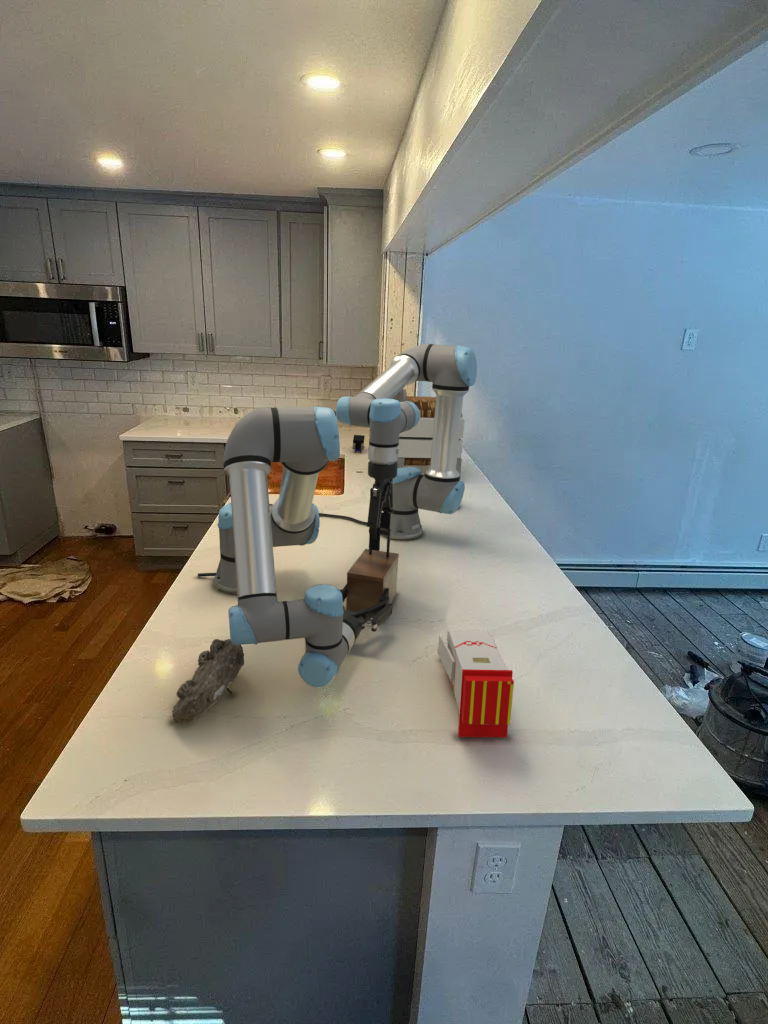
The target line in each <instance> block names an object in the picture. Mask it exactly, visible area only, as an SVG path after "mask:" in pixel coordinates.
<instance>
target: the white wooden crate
mask: <svg viewBox="0 0 768 1024" xmlns="http://www.w3.org/2000/svg"><path fill="white" fill-rule="evenodd" d="M407 394H408V393H407V390H406V389H404V388H403V389H402V390H401V391H400V392H399V393H398V394H397V395H396V396H394V397H393V398H392V399H395V400H398V401H399V402H402V401H409V402H412V403H414V404H415V405H416V406H417V407H418V409H419V412H420V419H419V422H418V423H417V425H416V426H414V427H413V428H412V429H411V430H407V431H404V432H402V433H400V434H399V445H398V450H400V451H401V452H400V454H398V460H397V461H396V462H397V464H398V468H404V467H405V466H406V467H417V466H418V467H430V463H431V451H432V439H433V428H434V416H435V404H436V396H415V395H414V396H413V395H412V396H411V395H407ZM464 429H465V419H464V418H463V413H462V414H461V424H460V434H459V444H458V454H457V464H456V470H457V471H458V472H459V474H460V475H461V472H462V461H463V460H462V453H463V442H464V441H463V440H462V439H463V438H464V431H465V430H464Z"/></svg>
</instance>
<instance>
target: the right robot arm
mask: <svg viewBox="0 0 768 1024" xmlns="http://www.w3.org/2000/svg"><path fill="white" fill-rule="evenodd" d="M477 375H478V361H477V357H476V353H475V351H474V350H473V349H472V348H471V347H469V346H463V345H451V344H450V345H449V344H436V343H435V344H434V343H421V344H418V345H415V346H412V347H410V348H407V349H406V350H404V351H402V352H400V353H399V354H397V356H395V357H394V358H393V359H392V360H391V363H390V366H389V367H387V368H386V369H385V370H384V371H383V372H382V373H381V374H379V375H378V376H377V377H376V378H374V379H373V380H372V381H371V382H370V383H369V384H368V385H366V386H365V387H364V388H363V389H362V390H361V391H360V392H358V393H357V394H356V395H355V396H351V395H349V396H341V397H340V398H339V399H338V400H337V402H336V406H335V415H336V419H337V422H338V423H340V424H344V425H349V426H351V427H352V426H354V427H363V428H369V433H368V434H369V435H368V436H369V438H368V439H369V440H368V454H367V455H368V456H367V459H368V460H369V461H368V463H367V476H369V477H370V478H371V479H373V480H374V483H373V484H372V487H370V489H369V504H368V513H367V514H368V515H367V521H362V520H359V519H357V518H354V517H352V516H347V515H339V514H331V513H323V512H319V517H320V516H322V517H330V518H337V519H343V520H345V519H346V520H350V521H353V522H356V523H358V524H361V525H365V526H366V527H367V528H370V530H369V529H368V534H369V535H368V549H369V550H376V551H381V536H382V537H385V538H387V536H385V535H380V530H381V528H386V529H391V530H392V533H391V536H390V540H395V541H410V540H415V539H418V538H420V537H421V536H422V535H423V525H422V524H421V518H420V515H419V510H423V511H429V512H435V513H439V514H446V515H452V514H454V513H456V512H457V510H458V509H459V508H460V506H461V503H462V502H463V501H462V500H463V497H464V494H465V489H466V487H465V482H464V481H463V480H462V479H461V474H459V472H458V471H457V470H456V464H457V454H458V444H459V434H460V424H461V418H462V417H461V414H462V415H463V403H464V396H465V395H467V393H469V390H470V387H473V386H474V385H475V383H476V380H477ZM416 382H429V383H432V385H431V389H432V391H433V392H434V393H435V397H436V404H435V416H434V428H433V439H432V451H431V463H430V466H429V468H427V469H426V470H424V474H422V470H421V468H419V467H416V466H406V467H405V466H404V468H398V464H397V462H396V461H397V460H398V454H400V452H401V451H400V450H398V445H399V434H400V433H402V432H404V431H407V430H411V429H412V428H413V427H414V426H416V425H417V423H418V422H419V419H420V412H419V409H418V407H417V406H416V405H415V404H414V403H412V402H409V401H402V402H399V401H398V400H395V399H392V398H393V397H394V396H396V395H397V394H398V393H399V392H400V391H401V390H402V389H404V388H405V387H406V386H410V385H412V384H413V383H416ZM228 497H229V498H231V493H229V495H228ZM273 504H274V503H273ZM273 504H272V503H269V505H273Z"/></svg>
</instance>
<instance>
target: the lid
mask: <svg viewBox="0 0 768 1024" xmlns="http://www.w3.org/2000/svg"><path fill="white" fill-rule="evenodd" d="M369 530H370V527H368V531H369ZM391 533H392V530H391V529H386V528H381V530H380V536H382V535H385V536H387V537H386V551H385V550H384V551H383V550H379V551H376V550H369V548H365V549H364V550H363V551H362V552H361V554H360V555H359V556H358V558H357V559H356V560H355V561H354V562H353V564H352V566H351V567H350V568H349V569H348V571H347V572H346V578H347V577H350V578H356V579H363V580H369V581H375V582H381V583H384V581H385V579H386V578H387V576H388V574H389V573H390V571H391V569H392V568H393V566H394V564H395V563H396V561H397V559H398V560H399V558H400V553H399V552H398V553H397V552H392V551H390V550H391V539H390V536H391Z"/></svg>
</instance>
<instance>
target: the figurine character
mask: <svg viewBox="0 0 768 1024" xmlns="http://www.w3.org/2000/svg"><path fill="white" fill-rule="evenodd" d="M351 447H352V450H354V453H357V452H359V453H360V454H361V453H362V450H364V449H365V435H361V434H353V439H352V446H351Z"/></svg>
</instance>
